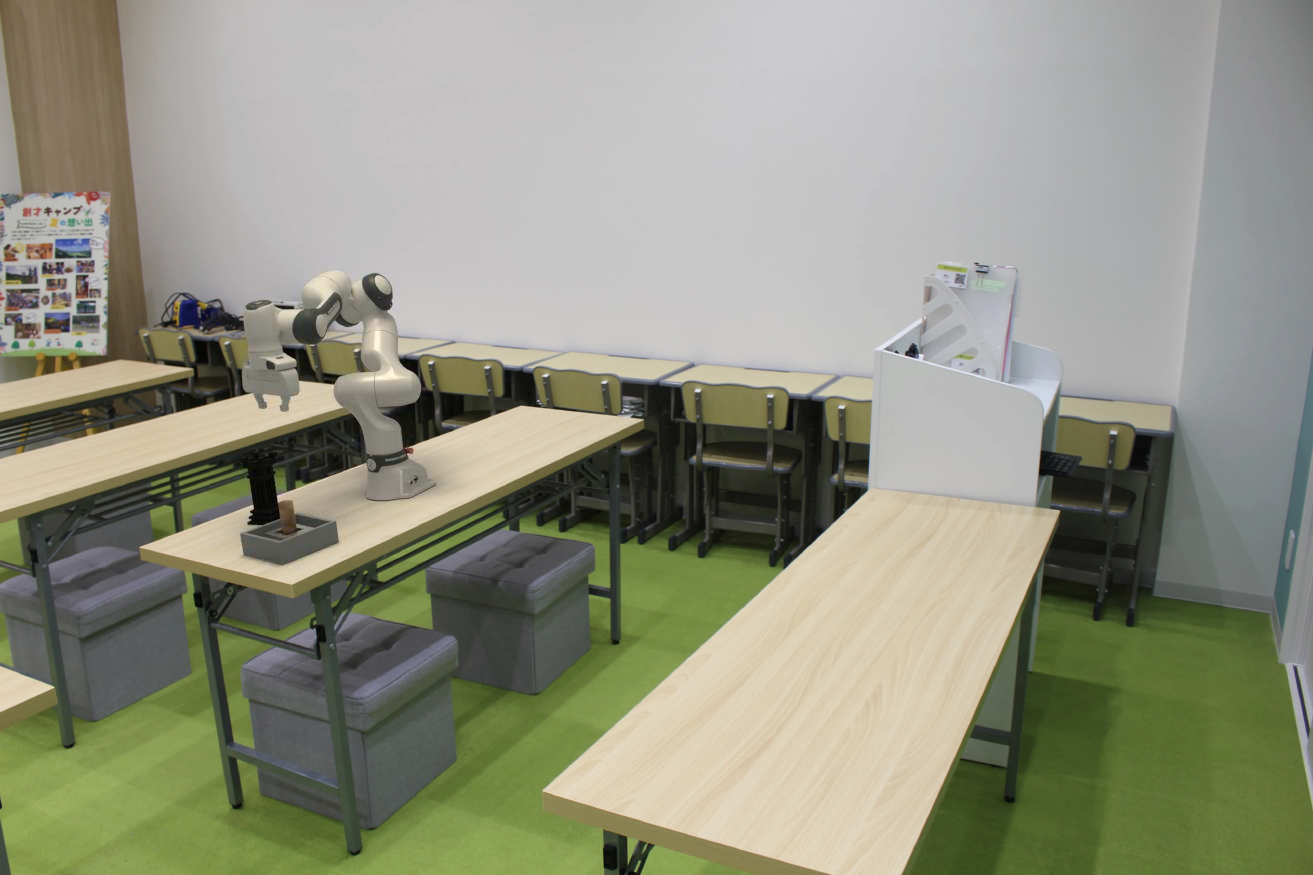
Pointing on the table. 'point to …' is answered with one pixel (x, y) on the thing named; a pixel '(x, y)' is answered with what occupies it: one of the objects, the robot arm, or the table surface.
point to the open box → (289, 540)
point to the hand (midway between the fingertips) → (273, 409)
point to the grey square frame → (279, 535)
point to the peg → (287, 517)
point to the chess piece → (262, 488)
